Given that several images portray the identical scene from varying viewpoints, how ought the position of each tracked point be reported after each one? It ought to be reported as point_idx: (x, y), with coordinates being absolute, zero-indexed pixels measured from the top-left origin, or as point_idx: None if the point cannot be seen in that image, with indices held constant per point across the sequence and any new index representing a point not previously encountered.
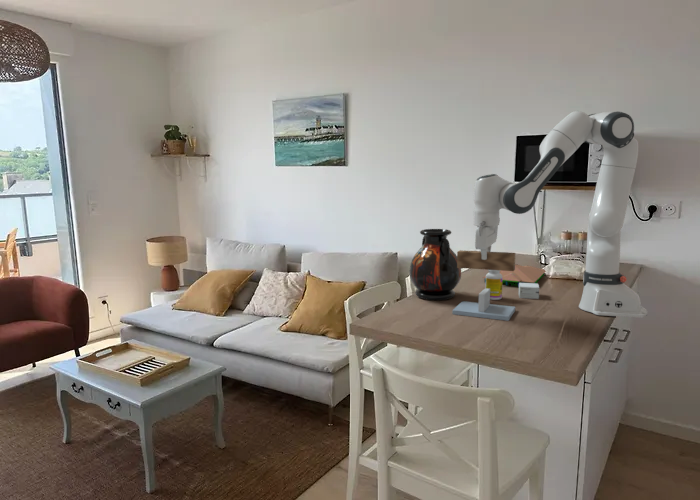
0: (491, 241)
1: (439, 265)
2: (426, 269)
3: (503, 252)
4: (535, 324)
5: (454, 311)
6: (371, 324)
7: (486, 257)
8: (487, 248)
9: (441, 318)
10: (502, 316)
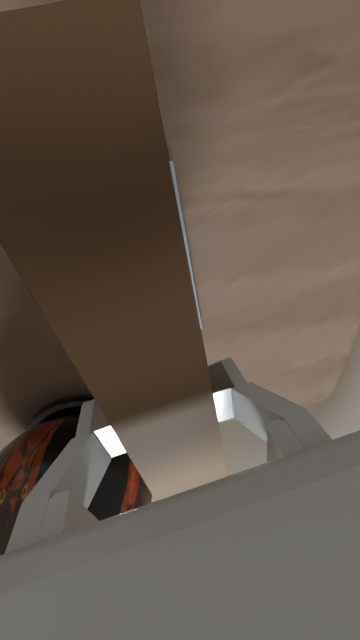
0: (164, 592)
1: (122, 501)
2: (148, 497)
3: (53, 300)
4: (151, 34)
5: (200, 322)
6: (323, 382)
7: (236, 366)
8: (78, 494)
9: (242, 322)
10: (176, 185)
